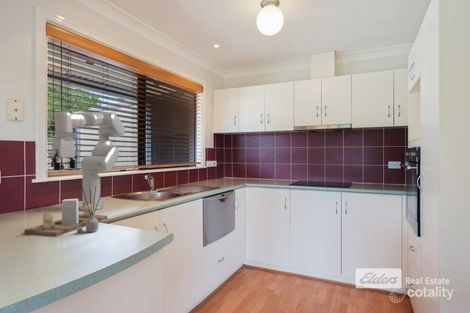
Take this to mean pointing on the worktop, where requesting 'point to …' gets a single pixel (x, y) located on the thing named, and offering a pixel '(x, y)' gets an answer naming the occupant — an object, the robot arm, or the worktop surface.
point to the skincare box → (70, 212)
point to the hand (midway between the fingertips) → (65, 169)
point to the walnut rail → (55, 227)
